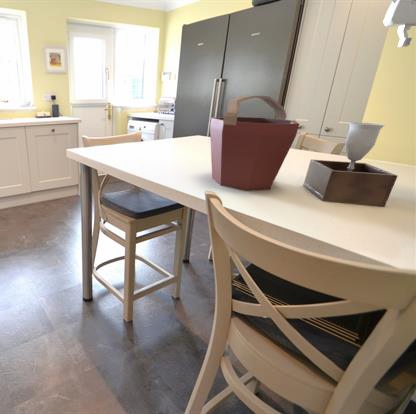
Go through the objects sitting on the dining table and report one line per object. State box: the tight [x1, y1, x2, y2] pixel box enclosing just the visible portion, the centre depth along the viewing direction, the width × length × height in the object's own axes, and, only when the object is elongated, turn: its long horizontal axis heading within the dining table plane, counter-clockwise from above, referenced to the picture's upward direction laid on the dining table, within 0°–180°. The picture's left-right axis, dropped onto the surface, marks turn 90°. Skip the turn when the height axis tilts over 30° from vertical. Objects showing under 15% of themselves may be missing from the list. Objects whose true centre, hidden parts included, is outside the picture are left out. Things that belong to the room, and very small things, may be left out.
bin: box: [303, 159, 398, 207], centre depth 76 cm, size 14×14×8 cm
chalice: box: [344, 121, 385, 172], centre depth 74 cm, size 7×7×18 cm
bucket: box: [209, 95, 300, 192], centre depth 84 cm, size 24×22×25 cm
